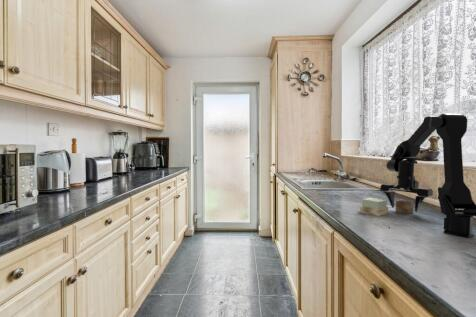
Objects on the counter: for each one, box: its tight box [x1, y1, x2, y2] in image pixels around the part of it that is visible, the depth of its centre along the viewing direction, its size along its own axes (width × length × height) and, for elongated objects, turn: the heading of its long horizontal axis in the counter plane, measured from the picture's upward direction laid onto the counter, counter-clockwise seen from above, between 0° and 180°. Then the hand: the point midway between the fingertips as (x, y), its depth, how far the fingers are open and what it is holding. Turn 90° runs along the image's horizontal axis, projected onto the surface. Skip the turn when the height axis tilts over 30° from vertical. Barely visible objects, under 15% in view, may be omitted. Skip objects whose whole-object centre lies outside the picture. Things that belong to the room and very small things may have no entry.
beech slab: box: [359, 205, 389, 217], centre depth 115 cm, size 8×8×3 cm
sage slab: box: [361, 197, 388, 209], centre depth 115 cm, size 7×7×3 cm
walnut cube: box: [395, 198, 415, 215], centre depth 117 cm, size 5×5×5 cm
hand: (404, 209), depth 117 cm, fingers open, 9 cm apart
